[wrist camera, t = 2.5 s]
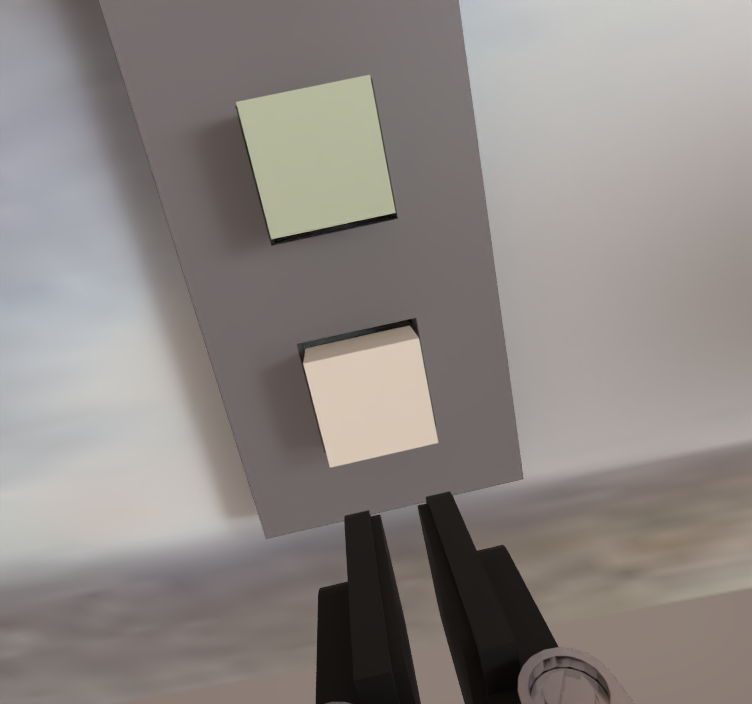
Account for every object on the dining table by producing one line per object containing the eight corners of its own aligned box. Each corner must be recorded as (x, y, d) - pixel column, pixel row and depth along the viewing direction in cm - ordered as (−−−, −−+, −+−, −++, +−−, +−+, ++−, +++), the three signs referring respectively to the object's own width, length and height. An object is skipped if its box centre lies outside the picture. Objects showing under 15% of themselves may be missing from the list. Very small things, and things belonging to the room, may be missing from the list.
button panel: (393, -341, 17) (402, -411, 15) (508, 458, 25) (523, 478, 23) (31, -276, 16) (-8, -341, 15) (270, 513, 25) (266, 539, 23)
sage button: (365, 89, 19) (369, 74, 16) (388, 212, 20) (395, 213, 18) (246, 114, 18) (235, 102, 16) (277, 235, 20) (271, 239, 18)
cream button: (409, 325, 21) (418, 338, 19) (427, 420, 22) (438, 442, 20) (305, 348, 21) (303, 363, 19) (329, 443, 22) (329, 467, 20)
